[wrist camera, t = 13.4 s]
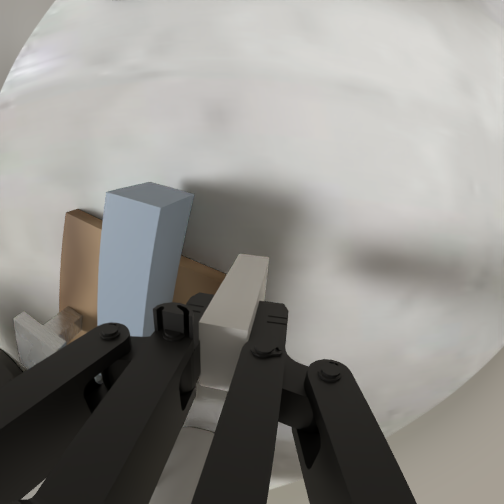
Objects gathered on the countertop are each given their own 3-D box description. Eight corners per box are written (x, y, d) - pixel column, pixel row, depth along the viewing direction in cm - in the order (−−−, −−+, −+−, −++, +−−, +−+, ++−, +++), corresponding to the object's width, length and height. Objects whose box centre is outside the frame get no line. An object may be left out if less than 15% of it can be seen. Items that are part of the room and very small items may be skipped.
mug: (253, 456, 28) (237, 536, 17) (203, 469, 30) (182, 536, 20) (175, 397, 26) (133, 485, 16) (132, 417, 28) (92, 486, 18)
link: (175, 399, 24) (156, 438, 19) (114, 372, 24) (88, 406, 19) (218, 201, 18) (191, 217, 13) (129, 176, 18) (83, 185, 13)
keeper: (67, 320, 23) (18, 363, 16) (69, 276, 21) (9, 316, 14) (107, 344, 23) (61, 396, 16) (112, 300, 21) (55, 351, 14)
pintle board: (68, 335, 26) (25, 374, 19) (77, 208, 21) (10, 232, 14) (181, 395, 26) (154, 453, 19) (226, 274, 21) (193, 331, 14)
